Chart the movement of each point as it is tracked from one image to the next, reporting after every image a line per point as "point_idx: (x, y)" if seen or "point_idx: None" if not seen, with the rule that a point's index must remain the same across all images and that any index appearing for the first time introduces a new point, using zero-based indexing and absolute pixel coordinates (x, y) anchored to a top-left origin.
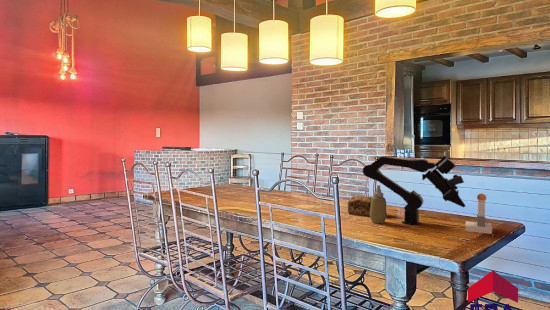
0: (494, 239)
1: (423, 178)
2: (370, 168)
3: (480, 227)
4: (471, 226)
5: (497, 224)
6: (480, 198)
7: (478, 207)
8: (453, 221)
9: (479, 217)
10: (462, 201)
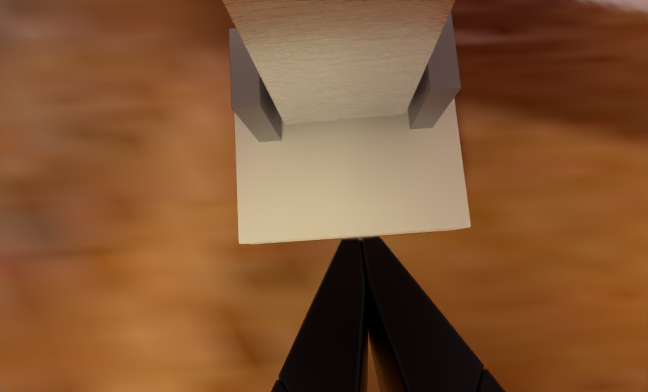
0: (615, 18)
1: None
2: None
3: (453, 102)
4: (462, 176)
5: (35, 25)
6: None
7: (452, 2)
8: (68, 365)
9: (457, 68)
10: (389, 313)
